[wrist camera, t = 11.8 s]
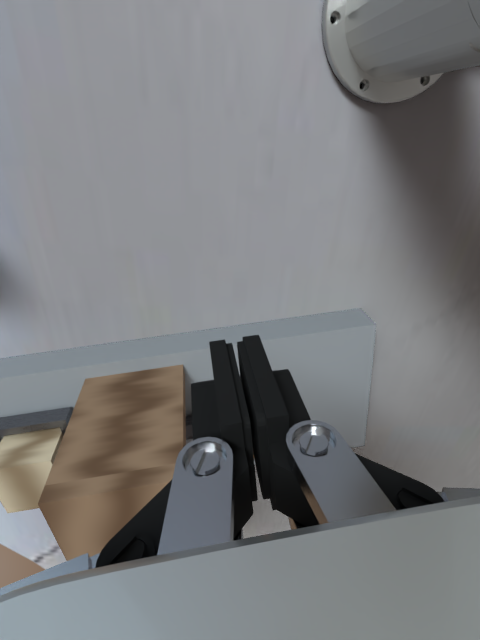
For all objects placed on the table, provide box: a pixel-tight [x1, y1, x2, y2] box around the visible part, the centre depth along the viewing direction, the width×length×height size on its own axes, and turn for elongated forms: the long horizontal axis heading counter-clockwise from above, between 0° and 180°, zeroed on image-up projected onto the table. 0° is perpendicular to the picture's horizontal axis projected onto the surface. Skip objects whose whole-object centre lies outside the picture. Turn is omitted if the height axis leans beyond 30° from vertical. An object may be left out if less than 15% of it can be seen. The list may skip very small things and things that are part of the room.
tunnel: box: [38, 365, 186, 561], centre depth 36 cm, size 10×15×14 cm, turn 5°
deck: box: [0, 308, 376, 507], centre depth 45 cm, size 45×18×4 cm, turn 95°
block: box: [0, 427, 63, 513], centre depth 39 cm, size 6×6×6 cm
